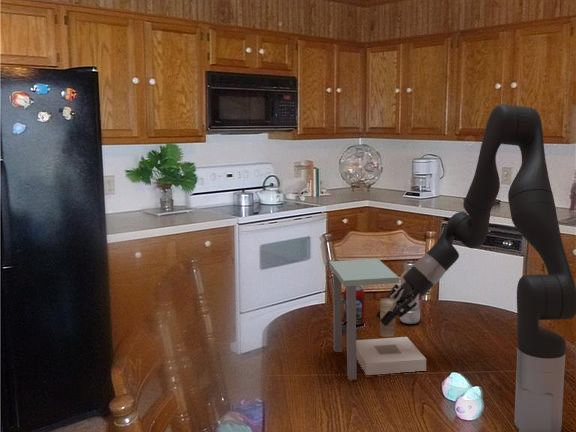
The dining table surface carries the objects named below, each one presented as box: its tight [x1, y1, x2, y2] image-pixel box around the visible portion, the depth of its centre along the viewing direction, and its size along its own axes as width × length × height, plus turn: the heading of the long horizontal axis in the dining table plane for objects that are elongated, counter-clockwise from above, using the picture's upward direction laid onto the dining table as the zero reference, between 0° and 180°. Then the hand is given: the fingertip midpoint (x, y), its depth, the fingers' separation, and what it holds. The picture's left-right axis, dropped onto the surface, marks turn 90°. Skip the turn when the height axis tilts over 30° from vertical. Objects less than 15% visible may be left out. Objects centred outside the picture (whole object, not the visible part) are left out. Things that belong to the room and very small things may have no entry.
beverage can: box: [343, 285, 366, 324], centre depth 189 cm, size 7×7×12 cm
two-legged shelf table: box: [328, 258, 400, 380], centre depth 156 cm, size 14×20×26 cm
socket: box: [356, 336, 427, 376], centre depth 159 cm, size 16×16×4 cm
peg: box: [379, 297, 396, 338], centre depth 157 cm, size 4×4×10 cm
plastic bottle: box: [399, 260, 421, 325], centre depth 187 cm, size 6×7×20 cm
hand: (380, 320), depth 157 cm, fingers closed on peg, 4 cm apart
